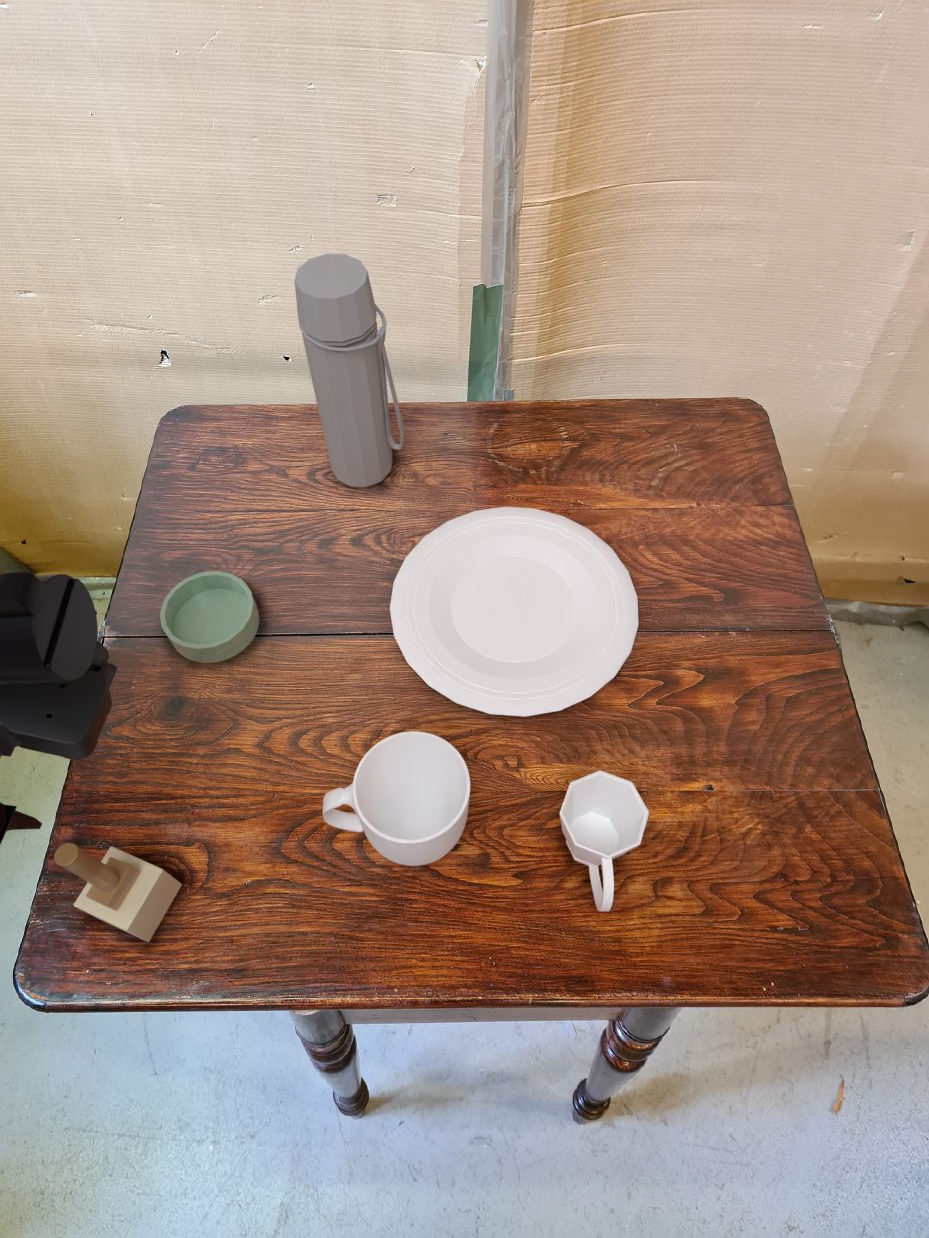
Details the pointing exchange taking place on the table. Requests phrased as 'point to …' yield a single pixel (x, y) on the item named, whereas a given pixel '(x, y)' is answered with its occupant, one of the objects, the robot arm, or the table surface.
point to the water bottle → (347, 367)
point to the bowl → (210, 616)
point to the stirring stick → (98, 874)
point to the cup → (602, 826)
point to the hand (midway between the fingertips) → (61, 764)
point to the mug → (406, 798)
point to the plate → (514, 611)
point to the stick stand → (135, 898)
